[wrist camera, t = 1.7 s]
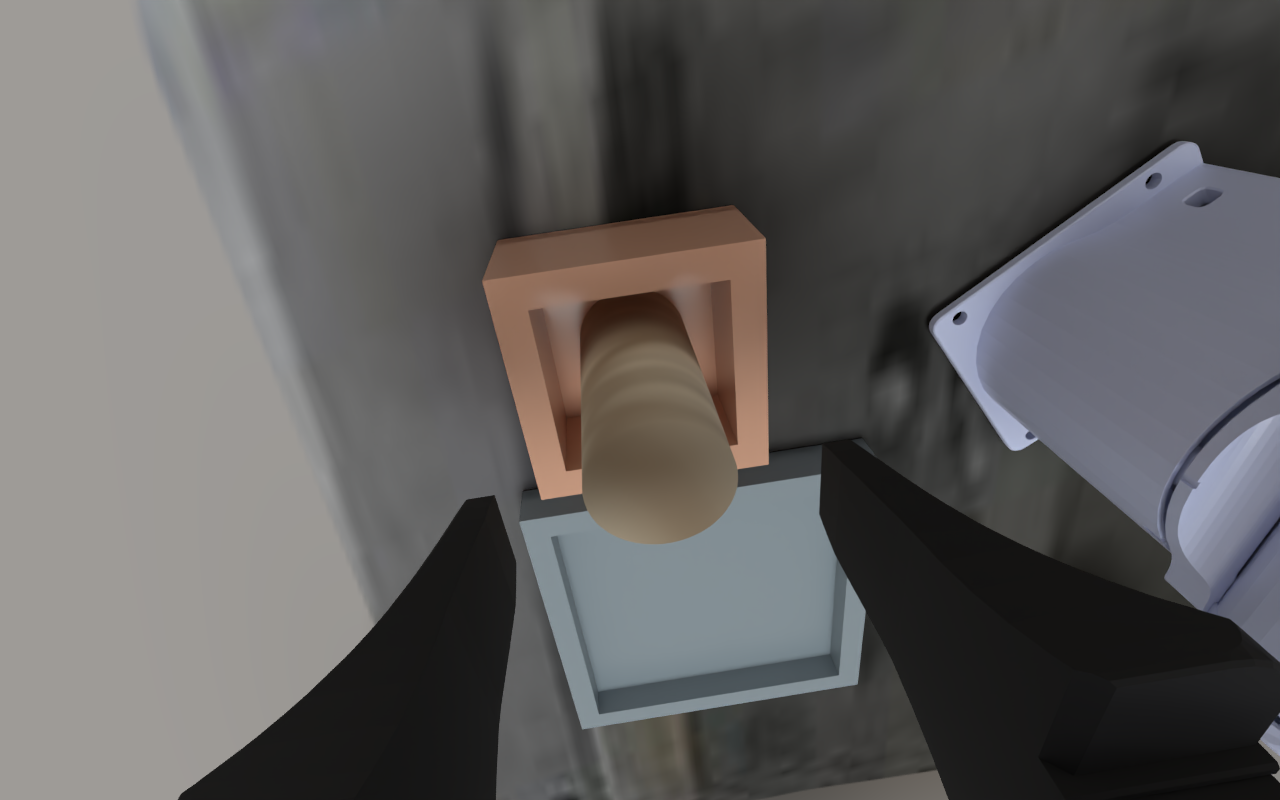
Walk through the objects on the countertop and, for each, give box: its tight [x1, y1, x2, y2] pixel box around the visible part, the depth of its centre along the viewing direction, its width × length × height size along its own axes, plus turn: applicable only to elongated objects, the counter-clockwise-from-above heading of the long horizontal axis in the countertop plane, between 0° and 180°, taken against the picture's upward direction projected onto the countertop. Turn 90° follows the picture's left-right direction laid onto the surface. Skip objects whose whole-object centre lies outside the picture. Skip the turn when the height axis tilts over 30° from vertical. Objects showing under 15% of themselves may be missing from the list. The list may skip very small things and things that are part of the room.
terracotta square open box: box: [482, 205, 769, 500], centre depth 20 cm, size 8×8×4 cm
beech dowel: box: [580, 291, 738, 544], centre depth 17 cm, size 4×4×8 cm
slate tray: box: [519, 438, 877, 729], centre depth 27 cm, size 14×14×2 cm
